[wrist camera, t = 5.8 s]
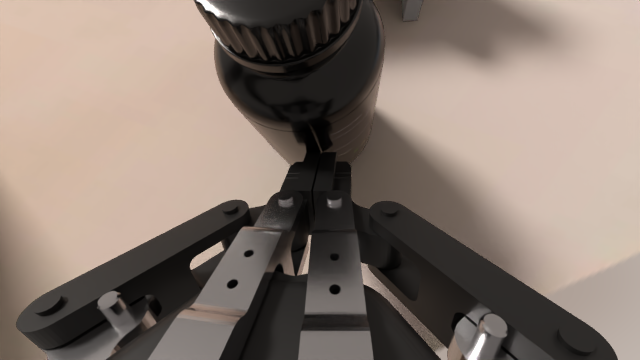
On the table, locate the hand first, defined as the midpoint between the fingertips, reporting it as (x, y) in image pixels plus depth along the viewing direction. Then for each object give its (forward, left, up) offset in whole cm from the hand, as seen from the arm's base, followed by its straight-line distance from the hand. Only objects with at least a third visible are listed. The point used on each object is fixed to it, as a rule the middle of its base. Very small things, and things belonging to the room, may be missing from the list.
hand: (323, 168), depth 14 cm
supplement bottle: (+2, +4, -4) cm, 6 cm away
